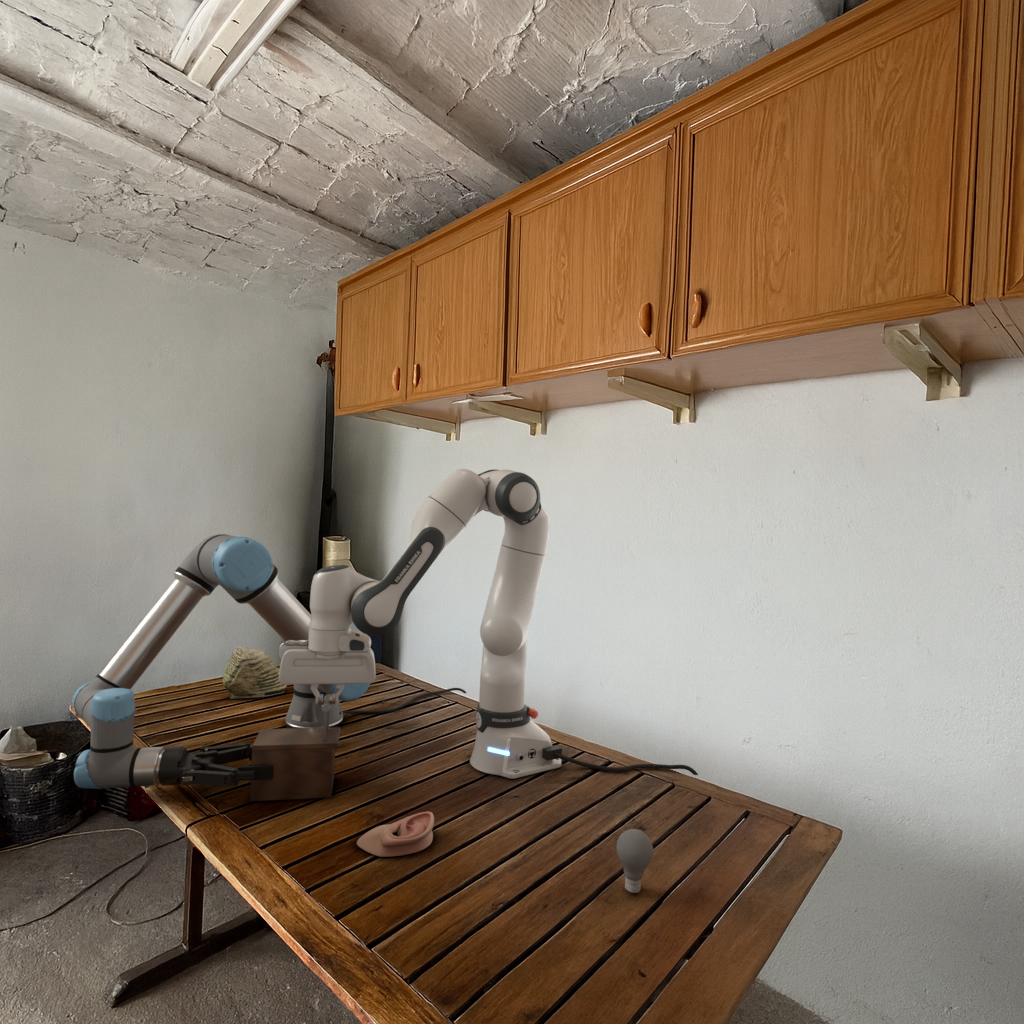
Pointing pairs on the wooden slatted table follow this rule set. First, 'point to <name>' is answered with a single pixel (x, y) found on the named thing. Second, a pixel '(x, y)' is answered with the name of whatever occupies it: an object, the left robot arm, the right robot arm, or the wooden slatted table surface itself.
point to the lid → (300, 735)
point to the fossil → (251, 674)
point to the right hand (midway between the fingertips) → (327, 703)
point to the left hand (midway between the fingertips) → (276, 761)
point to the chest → (294, 774)
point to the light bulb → (634, 857)
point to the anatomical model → (399, 836)
